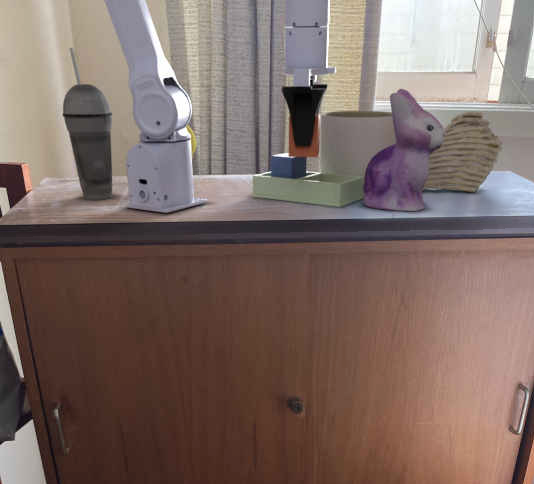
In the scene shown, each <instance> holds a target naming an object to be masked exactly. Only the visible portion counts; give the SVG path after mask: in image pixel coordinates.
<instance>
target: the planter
mask: <svg viewBox="0 0 534 484" xmlns="http://www.w3.org/2000/svg"><path fill="white" fill-rule="evenodd" d="M395 143H396V138H395V131H394V124H393V117H392V111H382V110H381V111H380V110H340V111H339V110H338V111H327V112H323V113H320V137H319V165H320V171H321V172H320V173H330V174H341V175H351V176H360V177H361V176H362V177H365V172H366V168H367V166H368V164H369V162H370V160H371V159H372V157H373V156H374V155H376V154H377V153H378V152H380V151H381V150H383V149H385V148H387V147H389V146H391V145H394V144H395Z"/></svg>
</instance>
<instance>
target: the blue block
mask: <svg viewBox="0 0 534 484" xmlns="http://www.w3.org/2000/svg"><path fill="white" fill-rule="evenodd" d="M307 158H308V157H289V152H283V153H278V154H273V155H270V171H271V177H281V178H291V179H297V178H301V177H305V176H306V171H307V161H308V159H307Z"/></svg>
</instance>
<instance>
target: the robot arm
mask: <svg viewBox="0 0 534 484" xmlns="http://www.w3.org/2000/svg"><path fill="white" fill-rule="evenodd" d="M103 1H104V3H105V6H106V9H107V12H108V15H109V17H110V20H111V22H112V25H113V28H114V31H115V33H116V36H117V39H118V42H119V45H120V48H121V50H122V54H123V56H124V59H125V61H126V64H127V67H128V88H129V90H130V93H131V96H132V118H133V120H134V123H135V125H136V127H137V128H138V129H139V131H140V133H139V142H138V143H137V144H134V145H132V146H131V147H130V148H129V149H128V151H127V153H126V158H125V169H126V177H127V187H128V197H129V203H126V204H125V207H126V208H129V209H135V210H141V211H142V210H143V211H149V212H150V211H151V212H158V213H165V214H169V213H172V212H175V211H179V210H183V209H187V208H190V207H191V208H192V207H194V206H198V205H201V204H205V203H207V198H201V197H195V190H194V189H195V188H194V175H193V174H194V172H193V157H192V154H191V139H190V138H191V136H190V134H189V133H188V131H187V129H186V126H187V125H189V123H190V120H191V118H192V115H193V113H192V112H193V106H192V102H191V99H190V96H189V95H188V93H187V92H186V91H185V89H183V87H181V85H180V83H179V82H178V80H177V77H176V74H175V71H174V70H173V68H172V67H171V65H170V62H168V59H167V58H166V57H165V55H164V51H163V49H162V46H161V42H160V40H159V37H158V33H157V30H156V28H155V25H154V22H153V19H152V15H151V14H150V10H149V7H148V4H147V1H146V0H103ZM329 26H330V0H284V33H283V35H284V45H283V46H284V47H283V50H284V53H283V54H284V55H283V58H284V60H283V65H284V66H283V67H282V75H283V76H291V77H292V85H286V86H285V85H284V86H283V85H282V87H281V92H282V95H283V98H284V100H285V102H286V105H287V108H288V113H289V116H290V117H291V124H292V131H293V137H294V142H295V146H310V145H311V142H312V138H313V132H314V126H315V119H316V114H320V113H319V112H320V108H321V104H322V101H323V99H324V96H325V94H326V92H327V89H328V84H327V83H316V82H317V76H326V75H329V74H336V73H337V67H335V66H328V57H329V55H328V54H329V30H330V29H329Z"/></svg>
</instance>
